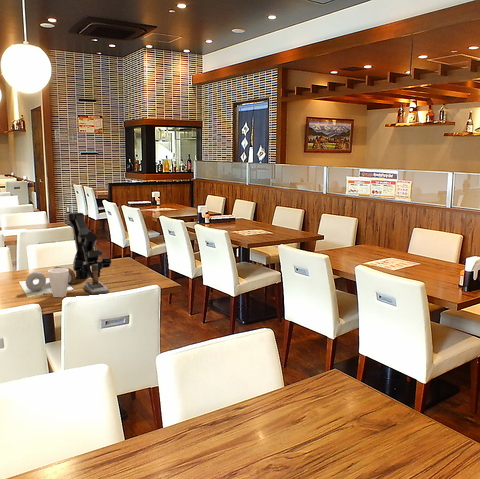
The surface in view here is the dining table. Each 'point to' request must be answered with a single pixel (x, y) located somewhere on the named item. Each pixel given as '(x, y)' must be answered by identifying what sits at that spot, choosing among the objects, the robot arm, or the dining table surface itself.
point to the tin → (71, 275)
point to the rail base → (96, 289)
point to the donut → (31, 277)
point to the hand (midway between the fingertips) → (95, 277)
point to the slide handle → (95, 277)
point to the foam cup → (58, 281)
